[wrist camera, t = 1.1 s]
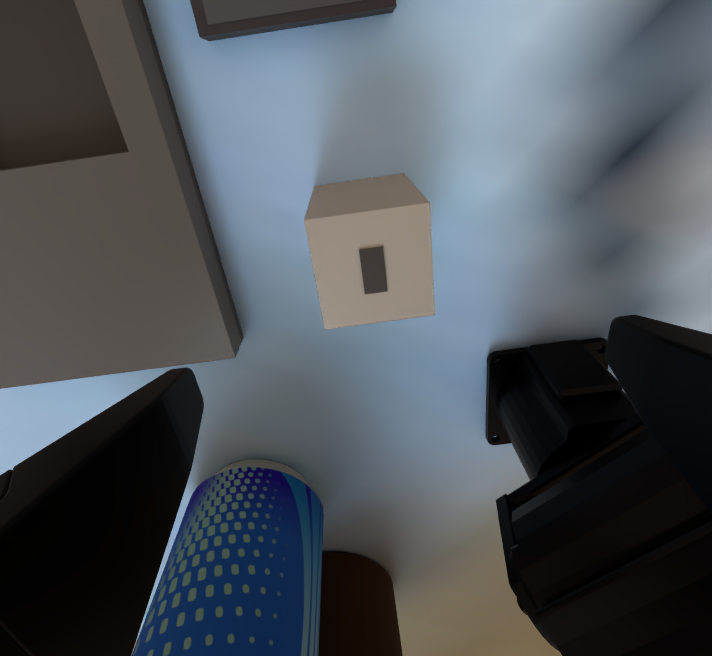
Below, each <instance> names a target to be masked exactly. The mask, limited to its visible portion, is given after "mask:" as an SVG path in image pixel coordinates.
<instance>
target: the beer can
mask: <svg viewBox="0 0 712 656" xmlns="http://www.w3.org/2000/svg"><path fill="white" fill-rule="evenodd" d="M323 516H324V514H323V507H322V503H321V501H320V499H319V497H318V495H317V494H316V492H315V491H314V490H313V489H312V488H311V487H310V485H309V484H308V482H307V481H306V480H305V478H304V477H303V476H302V475H301V474H299V473H298V472H297V471H295V470H294V469H292V468H290V467H288V466H286V465H284V464H281V463H278V462H274V461H269V460H258V459H255V460H244V461H239V462H236V463H233V464H230V465H228V466H226V467H224V468H223V469H221V470H220V471H218V472H217V473H216V474H214V475H212V476H210V477H208V478H207V479H206V480H204V481H203V482H202V483H201V484H200V485H199V486H198V487H197V488H196V489H195V491H194V492H193V494H192V496H191V498H190V501H189V504H188V506H187V509H186V512H185V514H184V517H183V520H182V523H181V525H180V528H179V531H178V533H177V536H176V539H175V541H174V544H173V547H172V549H171V552H170V555H169V557H168V560H167V563H166V565H165V568H164V571H163V573H162V576H161V579H160V581H159V584H158V587H157V589H156V592H155V595H154V598H153V600H152V603H151V606H150V608H149V611H148V614H147V616H146V619H145V622H144V624H143V627H142V630H141V632H140V635H139V638H138V640H137V643H136V646H135V648H134V651H133V654H132V656H318V648H319V622H320V595H321V569H322V543H323Z"/></svg>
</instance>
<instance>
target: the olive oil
mask: <svg viewBox="0 0 712 656" xmlns="http://www.w3.org/2000/svg"><path fill="white" fill-rule="evenodd" d="M318 656H402V648H401V641H400V634H399V626H398V619H397V612H396V604H395V597H394V590H393V584H392V581H391V578H390V576H389V574H388V573H387V572H386V571H385V569H383V568H382V567H381V566H380V565H379V564H377V563H376V562H374V561H372V560H370V559H368V558H365V557H362V556H359V555H355V554H350V553H341V552H328V553H322V569H321V595H320V622H319V648H318Z"/></svg>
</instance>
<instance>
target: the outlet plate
mask: <svg viewBox="0 0 712 656" xmlns="http://www.w3.org/2000/svg"><path fill="white" fill-rule="evenodd" d="M242 340H243V334H242V330H241V327H240V324H239V320H238V317H237V314H236V310H235V307H234V304H233V300H232V297H231V294H230V290H229V287H228V284H227V280H226V277H225V274H224V270H223V267H222V264H221V260H220V257H219V254H218V250H217V247H216V244H215V240H214V237H213V234H212V230H211V227H210V223H209V220H208V217H207V213H206V210H205V207H204V203H203V200H202V197H201V193H200V190H199V187H198V183H197V180H196V177H195V173H194V170H193V167H192V163H191V160H190V157H189V153H188V150H187V147H186V143H185V140H184V137H183V133H182V130H181V127H180V123H179V120H178V117H177V113H176V110H175V106H174V103H173V100H172V96H171V93H170V90H169V86H168V83H167V80H166V76H165V73H164V70H163V66H162V63H161V60H160V56H159V53H158V50H157V46H156V43H155V40H154V36H153V33H152V30H151V26H150V23H149V20H148V16H147V13H146V10H145V6H144V3H143V0H0V389H1V388H9V387H16V386H24V385H32V384H39V383H47V382H55V381H62V380H70V379H78V378H85V377H93V376H100V375H108V374H116V373H123V372H131V371H139V370H146V369H154V368H162V367H169V366H177V365H185V364H192V363H200V362H207V361H215V360H223V359H230V358H235V357H236V355H237V352H238V350H239V347H240V345H241V342H242Z"/></svg>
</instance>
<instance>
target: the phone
mask: <svg viewBox="0 0 712 656" xmlns="http://www.w3.org/2000/svg"><path fill="white" fill-rule="evenodd" d="M190 1H191V5H192V9H193V13H194V17H195V21H196V25H197V29H198V32H199V36H200V37H201V38H203V39H205V40H208V41H213V40H219V39H226V38H232V37H239V36H245V35H251V34H258V33H264V32H271V31H277V30H283V29H290V28H296V27H303V26H309V25H316V24H322V23H328V22H335V21H341V20H348V19H354V18H361V17H367V16H373V15H380V14H386V13H393V11H394V9H395V8H396V0H190Z"/></svg>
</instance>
